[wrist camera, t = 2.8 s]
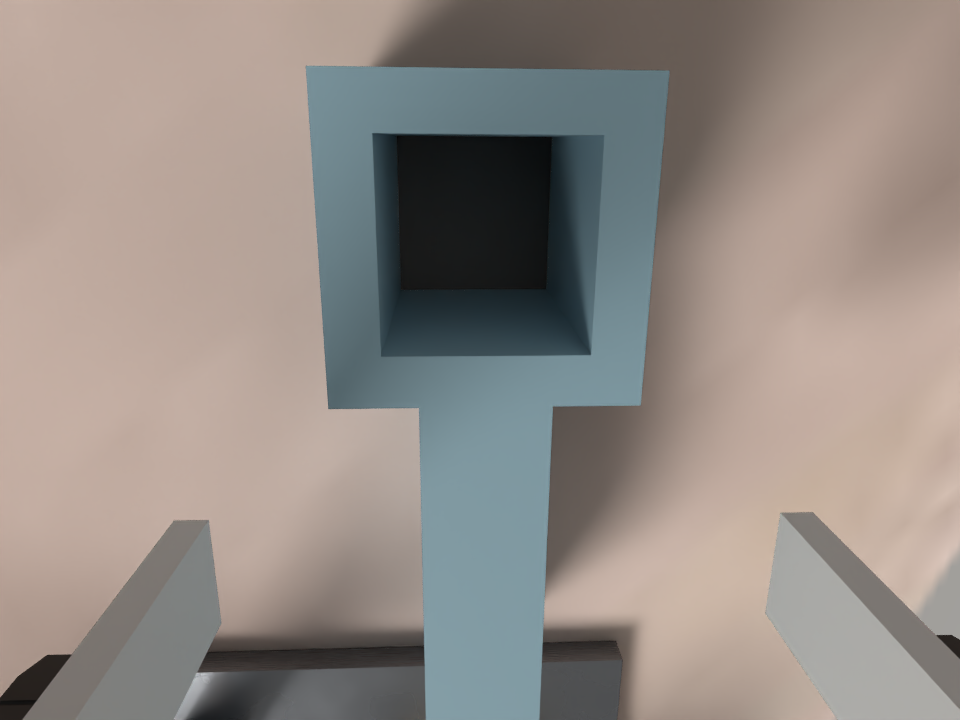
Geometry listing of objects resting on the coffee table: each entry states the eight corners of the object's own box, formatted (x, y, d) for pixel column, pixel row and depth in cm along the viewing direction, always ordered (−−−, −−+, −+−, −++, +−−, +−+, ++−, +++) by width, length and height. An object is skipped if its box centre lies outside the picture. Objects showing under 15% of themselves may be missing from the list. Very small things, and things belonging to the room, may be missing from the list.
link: (353, 91, 20) (305, 65, 13) (594, 94, 20) (669, 70, 13) (378, 625, 25) (354, 799, 19) (565, 620, 26) (607, 789, 19)
